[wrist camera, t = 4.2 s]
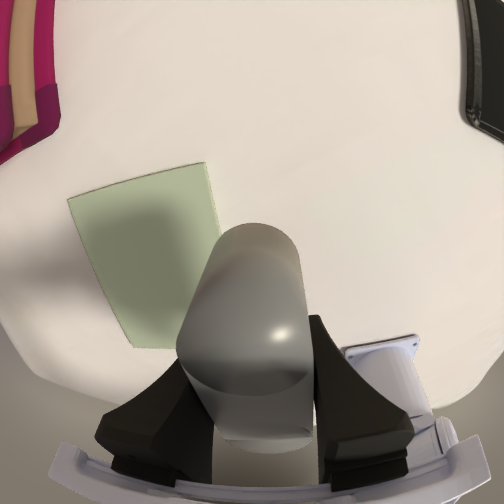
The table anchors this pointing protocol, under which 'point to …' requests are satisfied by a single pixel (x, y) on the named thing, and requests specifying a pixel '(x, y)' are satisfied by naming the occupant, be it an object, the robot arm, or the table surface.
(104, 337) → the table surface
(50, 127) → the book
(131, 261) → the sage mat
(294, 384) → the cylinder
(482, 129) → the phone
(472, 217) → the table surface
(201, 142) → the table surface
